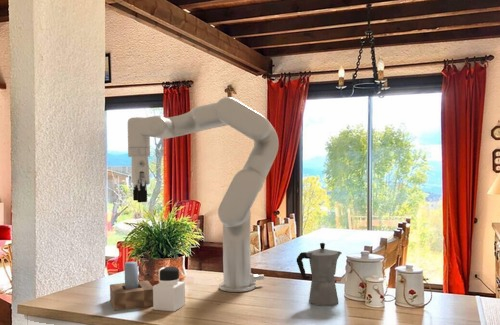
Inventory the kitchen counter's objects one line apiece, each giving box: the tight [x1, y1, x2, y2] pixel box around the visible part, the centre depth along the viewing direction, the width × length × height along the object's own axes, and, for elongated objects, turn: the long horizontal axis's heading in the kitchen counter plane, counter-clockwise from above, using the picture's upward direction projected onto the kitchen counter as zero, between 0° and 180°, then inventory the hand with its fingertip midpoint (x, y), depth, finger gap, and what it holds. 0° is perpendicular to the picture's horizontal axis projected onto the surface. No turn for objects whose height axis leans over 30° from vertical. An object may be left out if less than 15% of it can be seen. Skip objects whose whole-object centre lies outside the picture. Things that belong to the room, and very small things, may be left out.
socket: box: [109, 280, 154, 311], centre depth 149 cm, size 12×12×5 cm
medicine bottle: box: [152, 265, 186, 312], centre depth 144 cm, size 7×7×12 cm
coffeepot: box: [296, 242, 342, 307], centre depth 146 cm, size 15×9×18 cm, turn 110°
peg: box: [123, 260, 139, 290], centre depth 149 cm, size 4×4×12 cm
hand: (140, 201), depth 168 cm, fingers open, 9 cm apart
